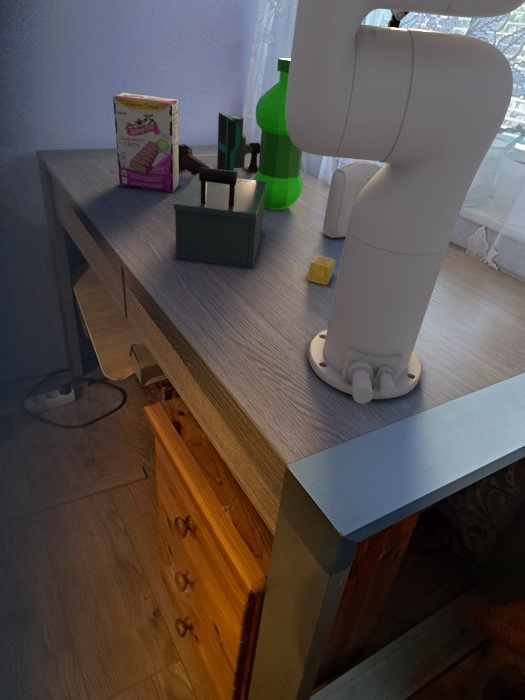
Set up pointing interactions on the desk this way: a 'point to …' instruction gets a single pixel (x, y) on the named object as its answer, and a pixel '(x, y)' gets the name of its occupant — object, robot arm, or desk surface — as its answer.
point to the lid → (222, 194)
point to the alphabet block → (321, 269)
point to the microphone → (189, 160)
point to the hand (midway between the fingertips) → (353, 48)
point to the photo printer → (345, 195)
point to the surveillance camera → (234, 145)
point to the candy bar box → (147, 141)
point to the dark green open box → (218, 237)
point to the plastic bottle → (278, 146)
